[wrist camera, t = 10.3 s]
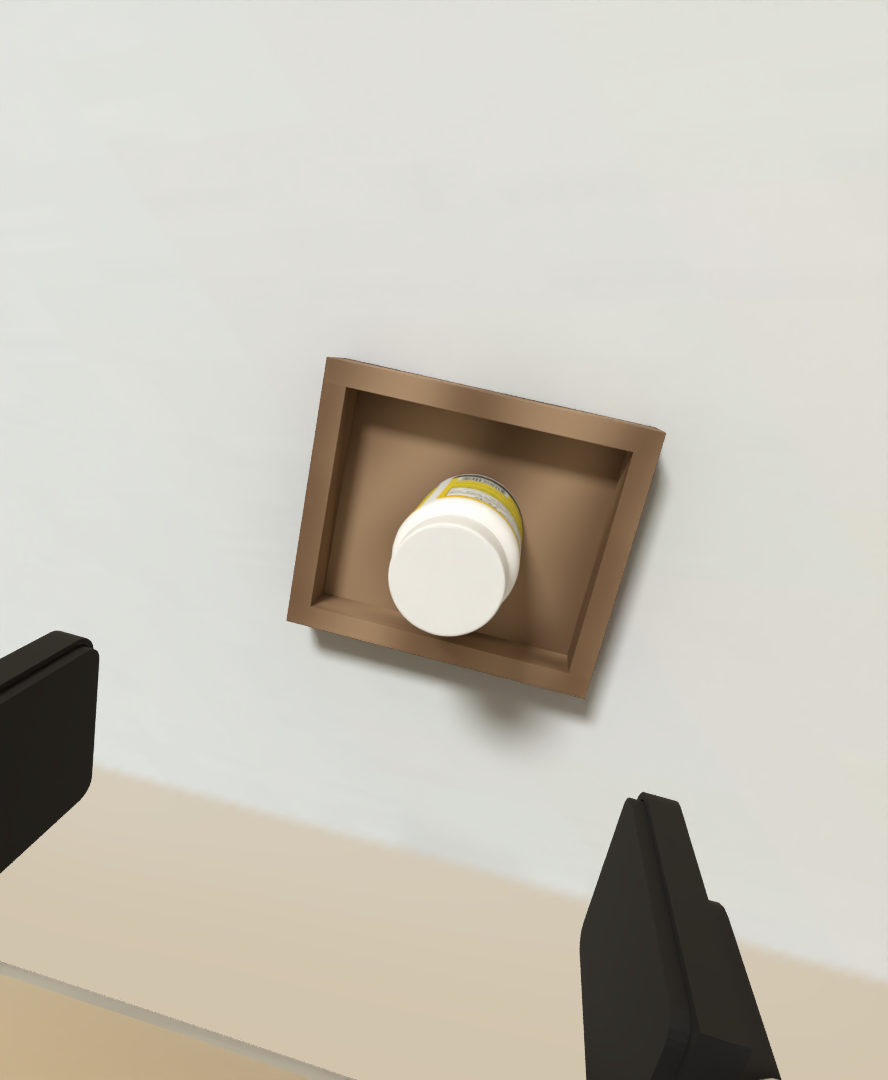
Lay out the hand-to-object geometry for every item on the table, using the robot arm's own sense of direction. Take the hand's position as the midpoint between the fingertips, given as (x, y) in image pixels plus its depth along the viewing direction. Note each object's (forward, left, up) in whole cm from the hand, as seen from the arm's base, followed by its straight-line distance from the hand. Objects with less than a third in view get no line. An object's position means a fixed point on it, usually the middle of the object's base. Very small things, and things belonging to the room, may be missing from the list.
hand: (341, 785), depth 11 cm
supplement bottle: (0, 0, -20) cm, 20 cm away
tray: (0, 0, -20) cm, 20 cm away
